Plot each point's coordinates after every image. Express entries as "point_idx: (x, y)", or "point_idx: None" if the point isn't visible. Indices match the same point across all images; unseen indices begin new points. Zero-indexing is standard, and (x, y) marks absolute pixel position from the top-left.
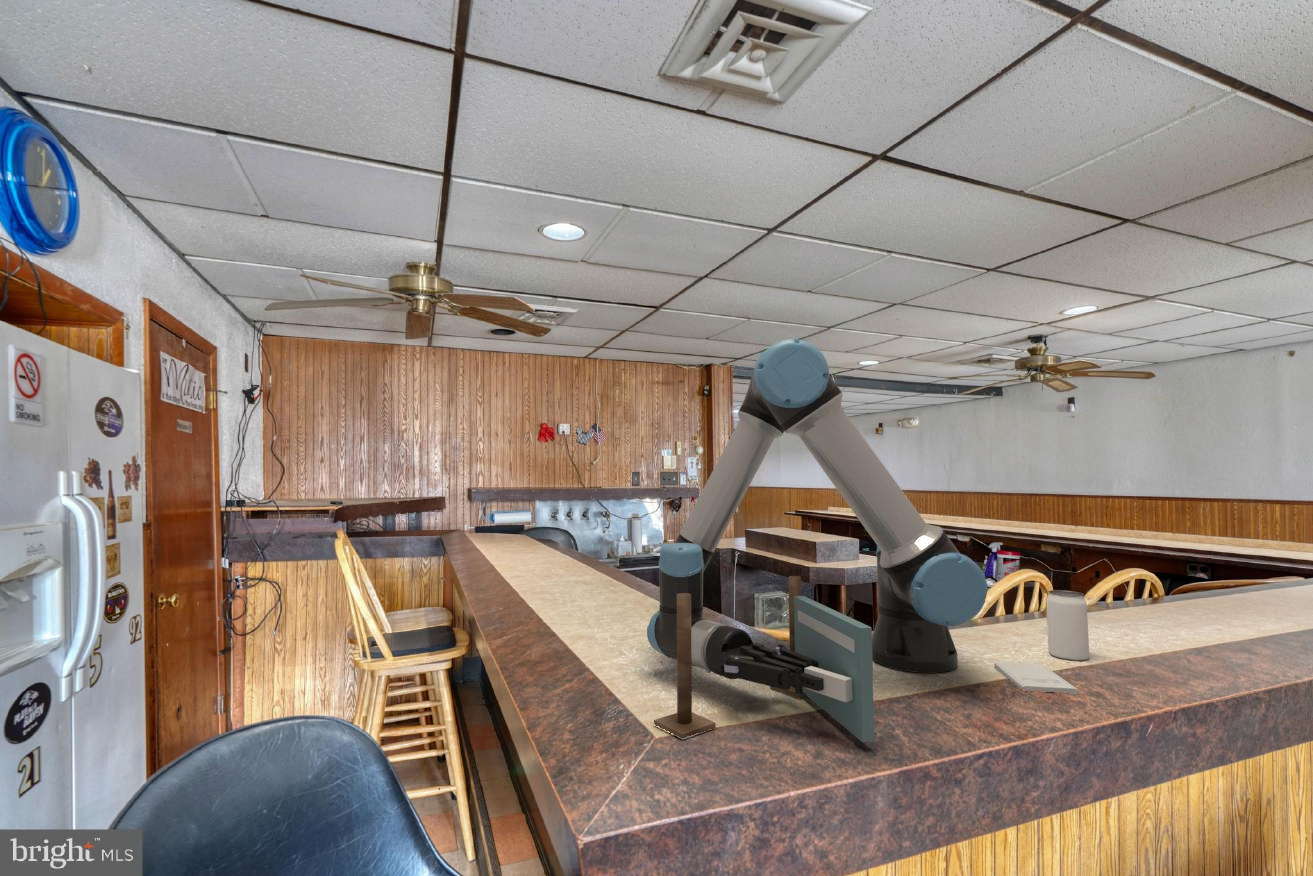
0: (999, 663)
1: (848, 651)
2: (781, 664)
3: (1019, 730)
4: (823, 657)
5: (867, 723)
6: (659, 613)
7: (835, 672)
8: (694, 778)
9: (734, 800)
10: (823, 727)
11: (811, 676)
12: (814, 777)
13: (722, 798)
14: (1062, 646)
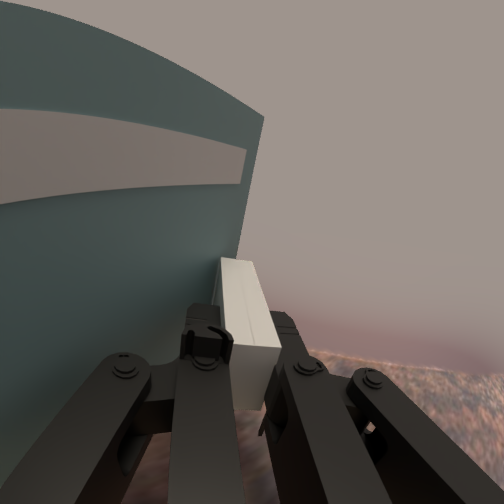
0: None
1: (221, 190)
2: (351, 445)
3: None
4: (63, 331)
5: None
6: None
7: (153, 310)
8: (485, 415)
9: (448, 374)
10: (168, 463)
11: (280, 335)
12: (347, 369)
13: (458, 380)
14: None
